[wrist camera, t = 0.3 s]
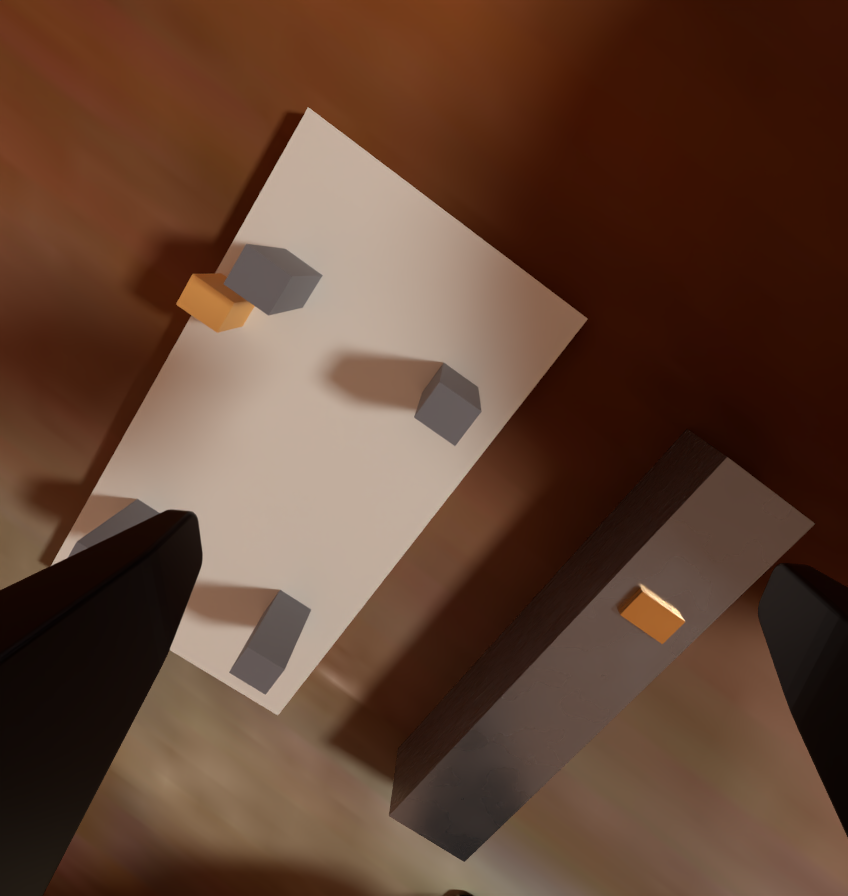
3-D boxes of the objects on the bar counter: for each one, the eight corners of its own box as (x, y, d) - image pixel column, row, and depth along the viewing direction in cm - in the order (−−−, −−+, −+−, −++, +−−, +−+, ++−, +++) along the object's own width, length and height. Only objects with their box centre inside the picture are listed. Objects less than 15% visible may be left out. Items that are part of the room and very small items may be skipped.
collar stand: (284, 700, 28) (247, 788, 23) (60, 563, 27) (-27, 628, 22) (582, 317, 22) (615, 329, 17) (315, 114, 21) (271, 67, 16)
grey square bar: (464, 784, 29) (464, 868, 25) (398, 743, 29) (388, 822, 25) (758, 483, 24) (820, 527, 20) (684, 426, 23) (731, 459, 19)
